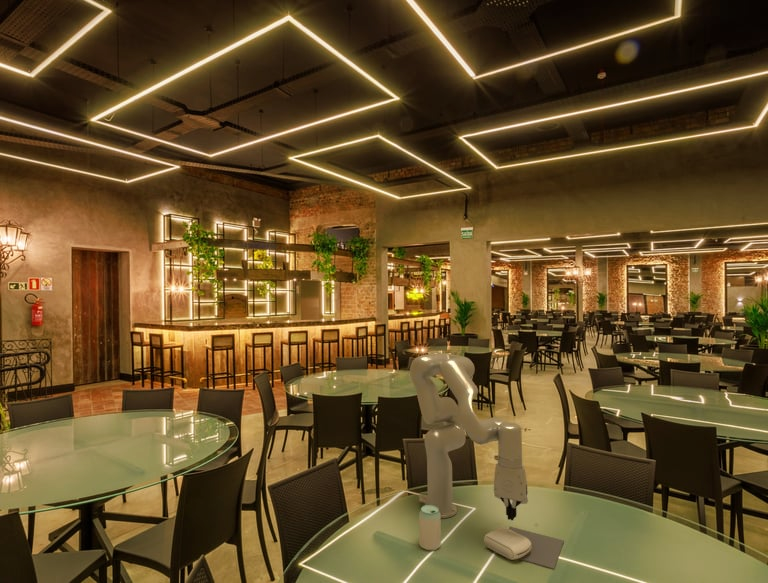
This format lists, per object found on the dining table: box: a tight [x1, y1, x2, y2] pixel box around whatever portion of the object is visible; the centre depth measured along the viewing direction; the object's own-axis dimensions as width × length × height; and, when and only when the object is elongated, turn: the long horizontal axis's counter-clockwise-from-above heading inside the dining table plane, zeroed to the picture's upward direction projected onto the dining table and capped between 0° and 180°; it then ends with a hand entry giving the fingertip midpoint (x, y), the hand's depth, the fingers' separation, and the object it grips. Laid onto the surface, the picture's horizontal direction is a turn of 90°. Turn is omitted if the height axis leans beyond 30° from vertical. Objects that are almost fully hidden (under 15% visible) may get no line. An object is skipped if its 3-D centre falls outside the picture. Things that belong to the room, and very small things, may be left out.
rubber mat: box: [494, 526, 565, 570], centre depth 142 cm, size 18×18×1 cm
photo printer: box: [483, 526, 532, 561], centre depth 140 cm, size 10×4×12 cm
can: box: [418, 505, 442, 551], centre depth 143 cm, size 7×7×12 cm
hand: (511, 518), depth 142 cm, fingers closed
